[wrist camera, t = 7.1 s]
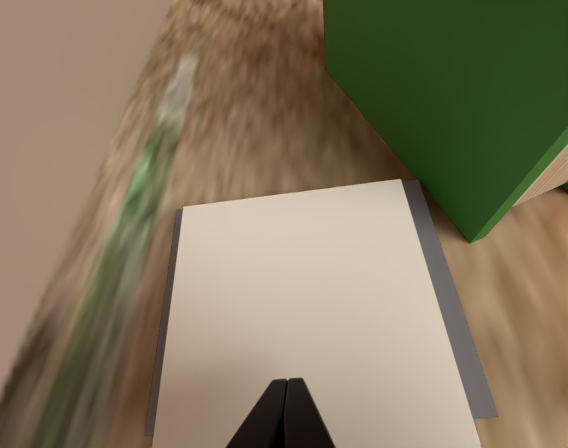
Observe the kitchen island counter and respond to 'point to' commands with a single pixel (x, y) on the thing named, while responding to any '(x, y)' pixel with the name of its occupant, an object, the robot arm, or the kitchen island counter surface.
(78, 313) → the kitchen island counter surface
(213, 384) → the tile
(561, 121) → the hardback book
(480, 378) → the mat
